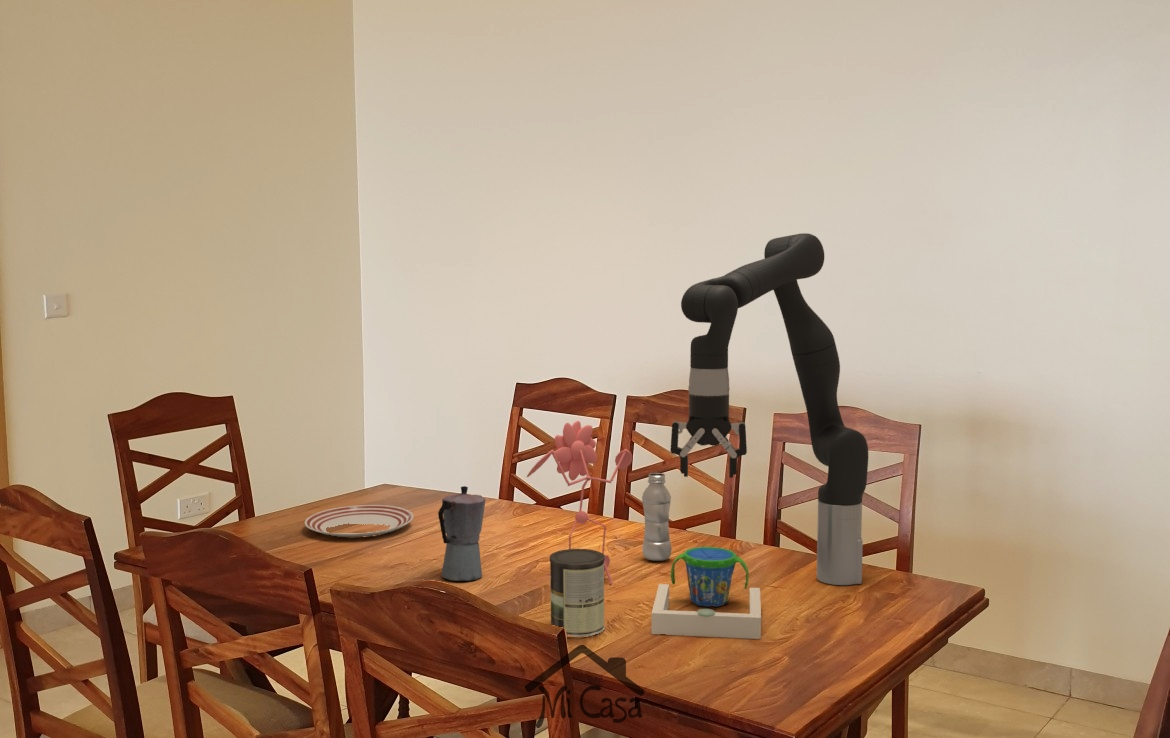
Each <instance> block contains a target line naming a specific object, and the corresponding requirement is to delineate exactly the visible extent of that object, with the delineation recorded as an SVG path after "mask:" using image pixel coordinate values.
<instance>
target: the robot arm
mask: <svg viewBox="0 0 1170 738" xmlns="http://www.w3.org/2000/svg"><path fill="white" fill-rule="evenodd" d="M824 250H825V249H824V246H823V244H822V242H821V240H820V239H819V238H818V237H817V236H815V234H812V233H807V232H806V233H805V232H804V233H795V234H792V235H791V234H790V235H786V236H780V237H775V238H772V239H770V240H768V241H767V243H766V245H765V247H764V253H763V254H764V258H761V259H759V260H756V261H753V262H750V263H747V264H744V265H741V266H739V267H737V268H735V269H733V270H732V271H730V272H728V273H726V274H724V275H722V276H719V277H713V278H711V279H706V280H703V281H700V282H697V283H694V284H692V285H691V286H689V287H688V288H687V290H685V292H684V293H683V295H682V298H681V301H680V302H681V303H680V306H681V307H680V308H681V312H682V314H683V316H685V318H686V319H687V320H689V321H692V322H694V323H706V324H707V323H708V324H710V325H709V329H708V331H707V333H706V334H704V335H702V334H701V335H698V336H694V338H692V339H691V341H690V357H689V358H690V362H689V363H690V372H689V375H688V376H689V379H688V389H687V390H688V420H687V422H681V421H678V420H674V421H673V422H672V425H671V439H670V450H669V451H670V453H671V454H673V455H677V456H679V458H680V460H679V461H680V464H679V465H680V466H679V468H680V469H679V470H680V474H683V477H684V478H688V477H689V454H688V453H690V451H692V449H693V448H694V447H695V445H696V444H697V445H700V446H708V445H709V446H712V447H713V446H715V447H716V446H719V445H721V447H723V449H724V450H725V451H726V452H727V454H728V455H729V468H728V469H729V478H731V479H732V478H734V475H737V473H738V458H739V457H741V456H746V455H747V452H748V449H747V448H748V447H747V431H746V430H747V429H746V428H747V427H746V422H744V421H740V422H739V423H737V422H736V423H734V422H733V423H731V421H730V375H729V374H730V373H729V345H730V340H731V337H732V333H733V329H734V327H735V326H734V325H735V321H736V319H737V315H738V310H739V309H740V308H743V307H744V306H747V305H748V304H750V303H752V302H753V301H755V300H758V299H759V298H760V297H762V296H764V295H766V294H767V293H770V292H771V291H773V292H774V296H775V297H776V300H777V304H778V307H779V310H780V312H781V313H780V314H781V316H782V319H783V322H784V323H783V324H784V327H785V329H786V330H785V331H786V334H787V338H788V342H789V347H790V352H791V355H792V359H793V363H794V367H795V372H796V375H797V378H798V381H799V386H800V389H801V390H800V391H801V394H802V397H803V400H804V401H803V402H804V404H805V409H806V413H807V420H808V426H809V428H808V429H809V435H810V441H811V442H810V443H811V448H812V451H813V454H814V457H815V458H816V459H817V461H818V462H819V463H821V464H822V465H824V466H826V467H828V469H827V481H826V483H825V484H822V485H820V487H818V490H817V491H818V492H817V527H816V528H817V529H816V530H817V531H816V532H817V536H816V537H817V538H816V544H817V545H816V579H817V580H818V581H820V582H821V583H824V584H828V585H832V586H833V585H834V586H853V585H858V584H859V585H861V584H862V583H863V582H862V581H863V544H864V543H863V538H862V527H863V524H862V522H863V519H862V518H863V496H864V493H865V492H866V489H867V483H868V481H867V480H868V472H869V471H868V467H869V446H868V442H867V440H866V437H865V436H864V434H862V433H861V432H860V431H858V430H856V429H853V428H850V427H846V425H845V424H844V421H843V418H842V415H841V412H840V408H839V403H838V387H839V382H840V375H841V362H840V356H839V353H838V349H837V348H838V347H837V345H836V342H835V337H834V335H833V332H832V331H831V329H830V328H829V326H828V325H827V324H826V323H825V322H824V321H823V319H821V317H820V316H819V315H818V314H817V313H816V312H815V311H814V310H813V309H812V307H811V306H809V304H808V302H807V301H806V300H805V298H804V296H803V294H802V291H801V288H800V285H799V284H798V280H804V279H809V278H811V277H813V276H816V275H817V274H818V273H819V272H821V270H822V268H823V266H824V262H825V251H824ZM684 429H686V431H687V432H688V434H689V435H690V436H691V437H690V438H689V439H688V441H687V442H686V443H685V444H684V446H683V447H679V435H681V434H682V433H683V431H684ZM731 430H733V431H734V433H735V435H736V436H739V448H735V447H734V446H733V444H732V442H731V441H730V440H729V438H728V437H727V436H728V434H729V433H730V432H731Z"/></svg>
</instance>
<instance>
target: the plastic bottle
mask: <svg viewBox="0 0 1170 738" xmlns="http://www.w3.org/2000/svg"><path fill="white" fill-rule="evenodd" d="M647 483H649V484H648V486H647V487H646V488H645V489H644V491H643V493H642V496H641V500H642V507H643V513H644V514H643V516H644V536H643V542H642V555H643V556H644V558H645V560H649V561H653V562H654V561H655V562H662V561H667V560H669V558H670V557H671V554H672V543H671V539H670V529H669V520H670V519H669V518H670V507H671V502H672V501H671V499H672V496H671V494H670V491H669V490H668V488H667V486H666V485H665V483H666V474H665V473H662V472H651V473H649V474H648V480H647Z"/></svg>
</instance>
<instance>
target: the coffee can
mask: <svg viewBox="0 0 1170 738" xmlns="http://www.w3.org/2000/svg"><path fill="white" fill-rule="evenodd" d="M604 555H605V553H604V554H602V551H601V552H600V551H598V550H595V549H588V548H571V549H569V548H568V549H562V550H559V551H554V552H552V553H551V554H550V555H549V562H550V568H549V569H550V574H551V576H550V578H549V579H550V626H551V625H555V626H558V627H563V628H564V629H565V630H566V633H567V637H566V638H567V639H568V634H569V635H570V636H574V637H584V636H592V635H595V634H598V635H600V634H602V633H603V632H604V631H603V630H605V628H606V627H605V571H604V560H605V556H604ZM601 632H602V633H601ZM599 633H600V634H599ZM592 637H593V636H592Z"/></svg>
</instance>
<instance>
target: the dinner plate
mask: <svg viewBox="0 0 1170 738" xmlns="http://www.w3.org/2000/svg"><path fill="white" fill-rule="evenodd" d="M414 517H415V516H414V514H413V512H411V511H410V510H409V509H406V508H403V507H399V506H395V505H394V506H393V505H383V504H362V505H361V504H359V505H348V506H341V507H335V508H334V507H333V508H329V509H324V510H322V511H318V512H316V513H313V514H312V515H310V516H308V517H307V518H306V519H305V521H304V526H305V527H306V528H307V529H309V530H311V531H313V532H316V533H318V534H319V533H320V534H323V535H326V536H329V535H331V536H330V537H333V536H338V537H337V538H339V537H363V536H373V535H379V534H383V535H385V534H384V533H386V534H389V533H391V532H394V531H396V530H399V529H401V528H404V527H405V526H407V525H408V524H410V523H411V522H412V521H413V519H414ZM348 523H349V524H362V525H363V524H364V525H365V524H366V525H367V524H374V525H377V524H379V525H383V524H385V525H386V526H388V525H390V527H389V529H387V530H382V531H376V532H367V533H329V532H327V531H326V528H327V527H329V528H330V527H335V526H338V525H343V524H348ZM385 525H384V526H385ZM388 532H389V533H388ZM379 536H380V535H379ZM373 537H374V536H373Z"/></svg>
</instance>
